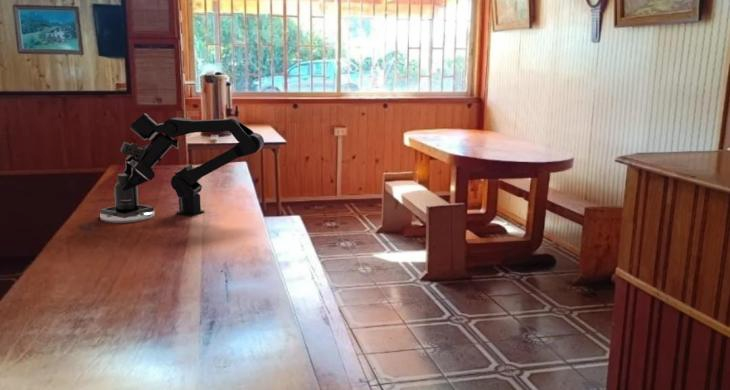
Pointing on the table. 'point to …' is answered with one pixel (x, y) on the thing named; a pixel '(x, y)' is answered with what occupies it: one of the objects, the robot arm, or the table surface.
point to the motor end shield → (126, 215)
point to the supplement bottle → (125, 195)
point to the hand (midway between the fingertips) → (121, 187)
